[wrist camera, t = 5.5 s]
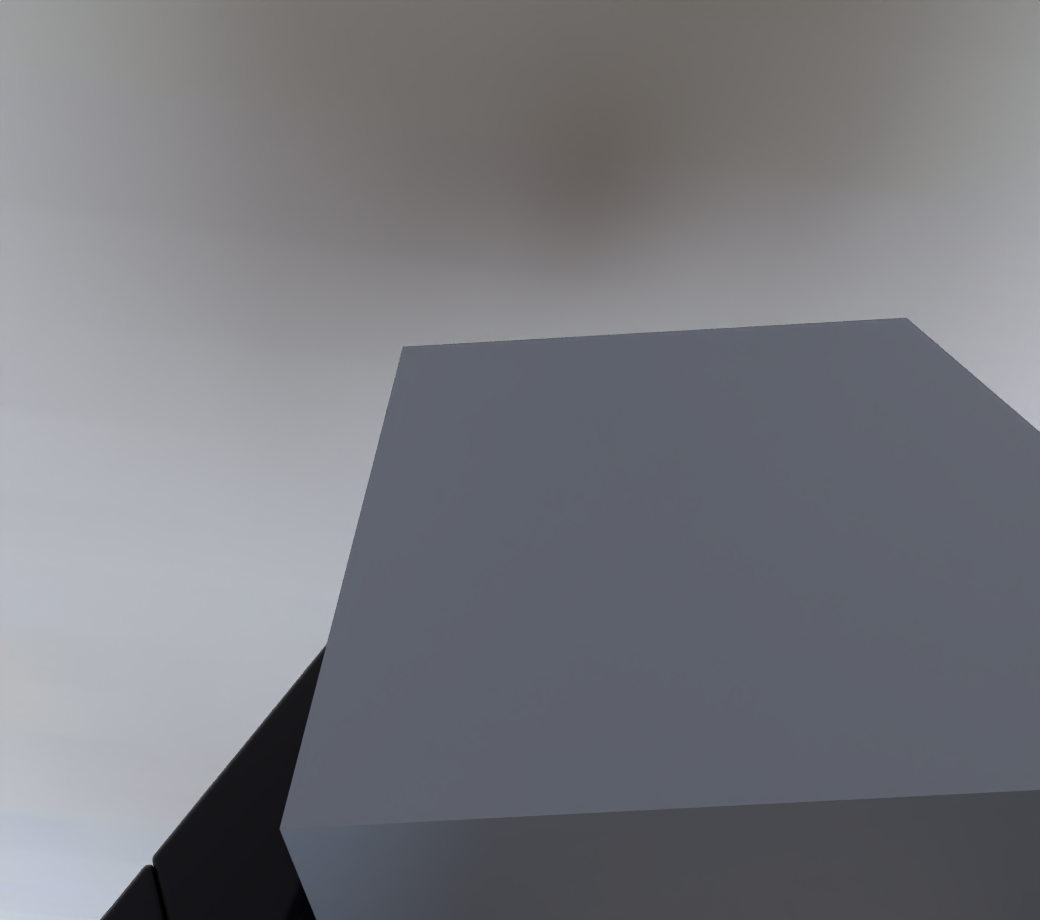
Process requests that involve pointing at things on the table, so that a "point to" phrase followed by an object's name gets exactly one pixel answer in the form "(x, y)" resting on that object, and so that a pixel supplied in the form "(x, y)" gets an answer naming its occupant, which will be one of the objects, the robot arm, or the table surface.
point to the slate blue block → (684, 638)
